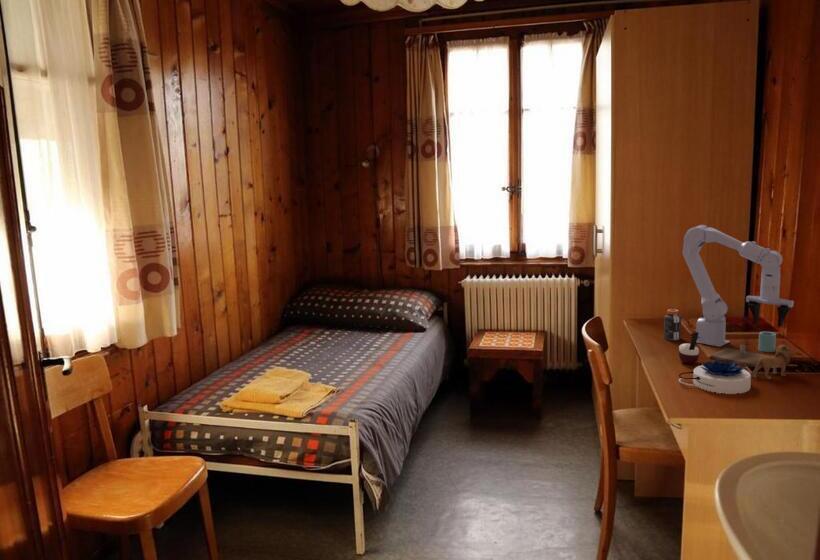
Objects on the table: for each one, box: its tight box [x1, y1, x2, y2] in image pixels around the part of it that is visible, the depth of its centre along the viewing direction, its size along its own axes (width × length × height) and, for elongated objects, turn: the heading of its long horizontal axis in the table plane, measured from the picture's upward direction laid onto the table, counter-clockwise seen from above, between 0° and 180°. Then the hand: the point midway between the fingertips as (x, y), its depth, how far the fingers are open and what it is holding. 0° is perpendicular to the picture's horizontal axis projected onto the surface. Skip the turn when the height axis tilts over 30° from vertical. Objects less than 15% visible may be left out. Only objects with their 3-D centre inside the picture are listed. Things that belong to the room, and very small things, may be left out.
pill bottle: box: [663, 308, 682, 341], centre depth 234 cm, size 6×6×11 cm
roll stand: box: [709, 344, 773, 369], centre depth 207 cm, size 16×12×5 cm
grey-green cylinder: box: [757, 331, 777, 353], centre depth 214 cm, size 5×5×6 cm
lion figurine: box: [752, 344, 791, 380], centre depth 190 cm, size 15×5×9 cm, turn 116°
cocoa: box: [678, 331, 700, 365], centre depth 206 cm, size 10×6×12 cm
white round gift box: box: [678, 359, 752, 395], centre depth 186 cm, size 7×16×20 cm
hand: (768, 324), depth 213 cm, fingers open, 7 cm apart
